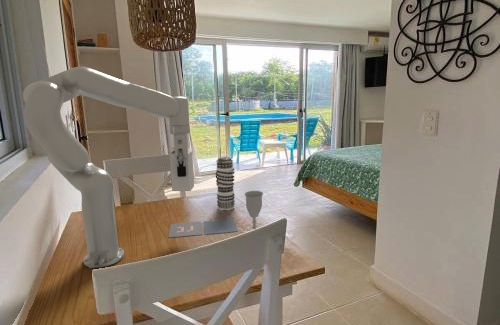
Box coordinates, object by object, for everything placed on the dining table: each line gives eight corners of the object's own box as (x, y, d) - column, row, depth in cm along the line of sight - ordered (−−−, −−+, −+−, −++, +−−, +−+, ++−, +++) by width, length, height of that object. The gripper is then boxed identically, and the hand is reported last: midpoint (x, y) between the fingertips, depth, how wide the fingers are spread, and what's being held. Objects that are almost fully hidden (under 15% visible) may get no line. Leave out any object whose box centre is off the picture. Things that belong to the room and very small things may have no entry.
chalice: (257, 244, 114) (256, 197, 110) (241, 240, 118) (240, 195, 114) (266, 236, 120) (266, 192, 117) (251, 233, 124) (251, 189, 120)
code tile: (202, 234, 123) (202, 234, 123) (168, 237, 121) (168, 237, 120) (201, 222, 135) (201, 221, 135) (170, 224, 133) (170, 224, 133)
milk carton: (194, 186, 127) (191, 140, 123) (190, 191, 120) (187, 143, 117) (177, 186, 128) (174, 140, 124) (172, 191, 121) (168, 143, 117)
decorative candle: (238, 209, 150) (237, 158, 145) (219, 212, 147) (217, 160, 141) (232, 203, 158) (230, 155, 153) (214, 205, 155) (212, 156, 150)
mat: (237, 231, 125) (237, 231, 125) (205, 234, 123) (204, 234, 123) (233, 219, 138) (233, 218, 138) (203, 221, 135) (203, 221, 135)
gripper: (189, 131, 111) (191, 178, 115) (189, 127, 128) (191, 168, 132) (168, 132, 110) (171, 180, 114) (171, 127, 127) (173, 169, 131)
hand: (182, 173), depth 123 cm, fingers closed on milk carton, 8 cm apart
